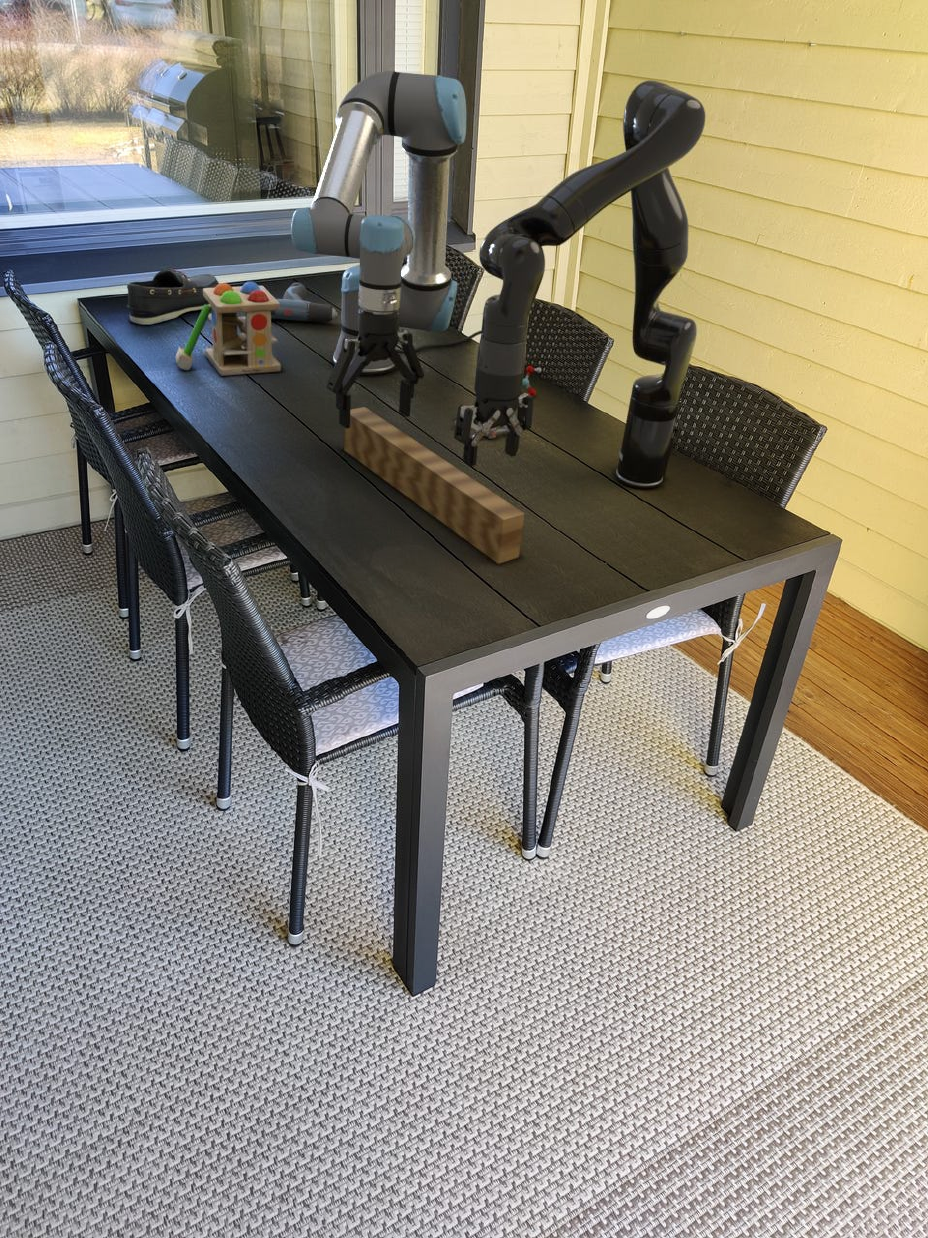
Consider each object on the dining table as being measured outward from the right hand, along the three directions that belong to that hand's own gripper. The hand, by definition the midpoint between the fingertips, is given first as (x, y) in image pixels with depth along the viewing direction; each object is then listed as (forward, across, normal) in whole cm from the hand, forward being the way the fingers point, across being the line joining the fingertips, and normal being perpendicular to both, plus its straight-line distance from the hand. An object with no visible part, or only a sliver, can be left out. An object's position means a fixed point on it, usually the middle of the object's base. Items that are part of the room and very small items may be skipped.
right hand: (490, 459), depth 163 cm
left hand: (+6, 0, +35) cm, 35 cm away
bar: (+16, 0, +18) cm, 23 cm away
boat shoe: (+16, +3, +138) cm, 139 cm away
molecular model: (+16, +48, +50) cm, 71 cm away
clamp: (+16, +29, +37) cm, 50 cm away
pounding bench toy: (+16, -3, +95) cm, 96 cm away
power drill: (+16, +34, +122) cm, 128 cm away
